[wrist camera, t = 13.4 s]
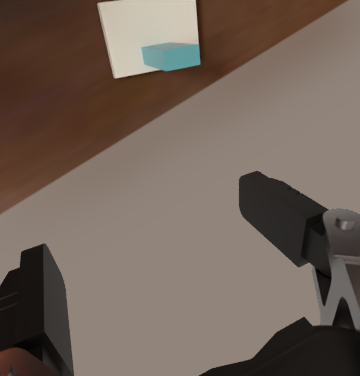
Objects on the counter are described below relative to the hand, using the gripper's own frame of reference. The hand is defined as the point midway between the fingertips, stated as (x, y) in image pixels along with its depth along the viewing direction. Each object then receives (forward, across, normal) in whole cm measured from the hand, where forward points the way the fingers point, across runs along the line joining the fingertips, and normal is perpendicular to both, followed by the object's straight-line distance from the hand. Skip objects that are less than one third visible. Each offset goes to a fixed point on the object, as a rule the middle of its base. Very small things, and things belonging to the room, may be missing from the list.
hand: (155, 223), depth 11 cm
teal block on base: (+30, -11, -5) cm, 32 cm away
